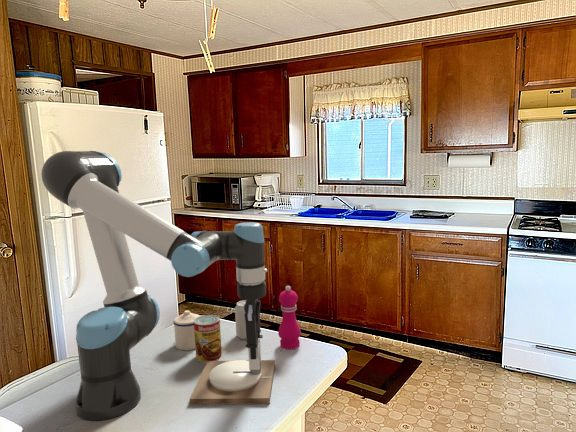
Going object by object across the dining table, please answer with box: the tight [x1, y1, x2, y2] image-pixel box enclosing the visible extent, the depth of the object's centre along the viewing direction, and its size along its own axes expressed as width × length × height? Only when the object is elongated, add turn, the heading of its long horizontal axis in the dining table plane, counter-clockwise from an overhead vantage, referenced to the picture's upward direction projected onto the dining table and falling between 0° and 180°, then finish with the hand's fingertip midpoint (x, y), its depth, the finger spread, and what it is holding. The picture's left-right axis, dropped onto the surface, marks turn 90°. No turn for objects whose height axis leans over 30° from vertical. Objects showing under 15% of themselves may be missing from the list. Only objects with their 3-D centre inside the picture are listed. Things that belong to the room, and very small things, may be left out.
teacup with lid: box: [172, 310, 201, 351], centre depth 142 cm, size 12×9×12 cm
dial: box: [209, 342, 262, 392], centre depth 115 cm, size 14×14×10 cm
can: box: [234, 299, 247, 340], centre depth 146 cm, size 8×8×12 cm
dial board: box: [189, 359, 276, 406], centre depth 116 cm, size 20×20×2 cm
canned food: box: [194, 314, 223, 363], centre depth 132 cm, size 8×8×12 cm
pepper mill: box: [278, 285, 302, 350], centre depth 137 cm, size 7×7×20 cm
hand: (255, 365), depth 115 cm, fingers closed on dial, 3 cm apart
